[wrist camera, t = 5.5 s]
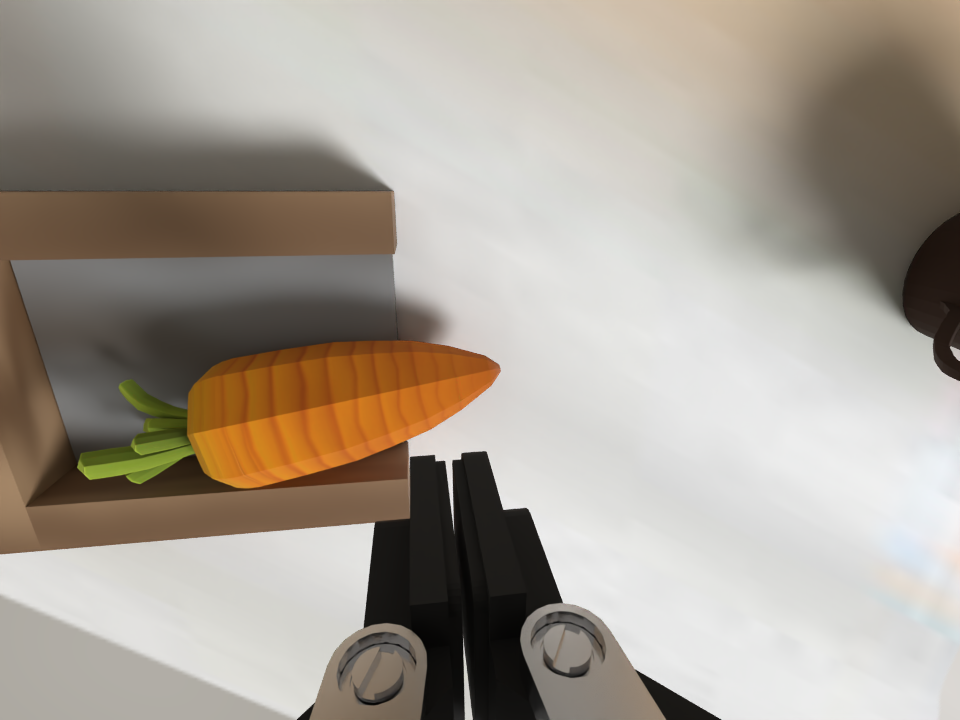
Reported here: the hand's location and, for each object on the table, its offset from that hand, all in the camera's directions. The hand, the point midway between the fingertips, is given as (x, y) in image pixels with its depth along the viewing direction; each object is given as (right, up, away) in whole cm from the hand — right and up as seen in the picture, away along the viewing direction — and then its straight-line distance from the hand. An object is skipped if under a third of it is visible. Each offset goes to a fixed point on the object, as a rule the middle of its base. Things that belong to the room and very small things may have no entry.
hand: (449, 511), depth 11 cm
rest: (-10, +3, +9) cm, 14 cm away
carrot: (+2, +3, +8) cm, 9 cm away
